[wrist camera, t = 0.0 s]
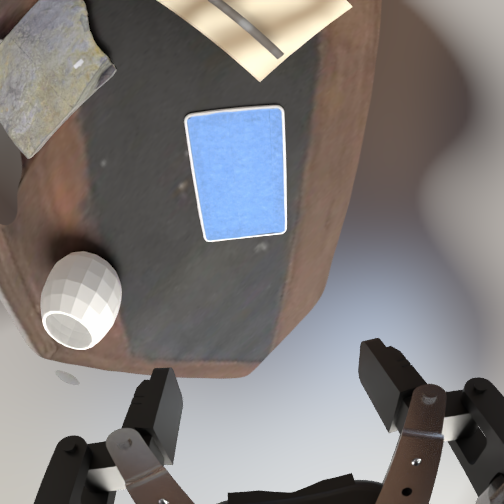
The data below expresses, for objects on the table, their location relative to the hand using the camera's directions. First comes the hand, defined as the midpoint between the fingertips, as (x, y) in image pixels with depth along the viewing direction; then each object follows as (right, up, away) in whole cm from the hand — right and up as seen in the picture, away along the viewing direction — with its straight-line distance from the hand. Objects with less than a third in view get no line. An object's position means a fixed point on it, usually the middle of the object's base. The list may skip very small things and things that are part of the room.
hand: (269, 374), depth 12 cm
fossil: (-28, +30, +15) cm, 43 cm away
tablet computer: (-2, +16, +28) cm, 33 cm away
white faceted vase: (-28, +2, +35) cm, 45 cm away
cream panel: (-2, +37, +12) cm, 39 cm away
